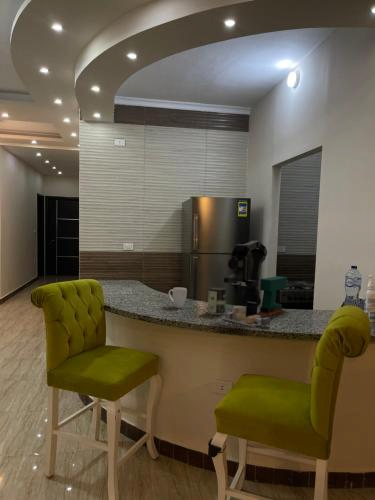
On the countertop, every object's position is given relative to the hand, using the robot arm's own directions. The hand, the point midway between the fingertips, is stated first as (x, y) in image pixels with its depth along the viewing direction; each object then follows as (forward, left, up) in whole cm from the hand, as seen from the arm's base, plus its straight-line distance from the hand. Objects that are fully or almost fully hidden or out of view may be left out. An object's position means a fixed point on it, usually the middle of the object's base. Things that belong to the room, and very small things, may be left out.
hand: (239, 297), depth 193 cm
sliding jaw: (0, +13, -11) cm, 16 cm away
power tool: (-39, -2, -12) cm, 41 cm away
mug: (+4, -44, -12) cm, 46 cm away
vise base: (0, +3, -12) cm, 12 cm away
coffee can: (-4, -19, -12) cm, 23 cm away
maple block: (0, 0, -11) cm, 11 cm away
